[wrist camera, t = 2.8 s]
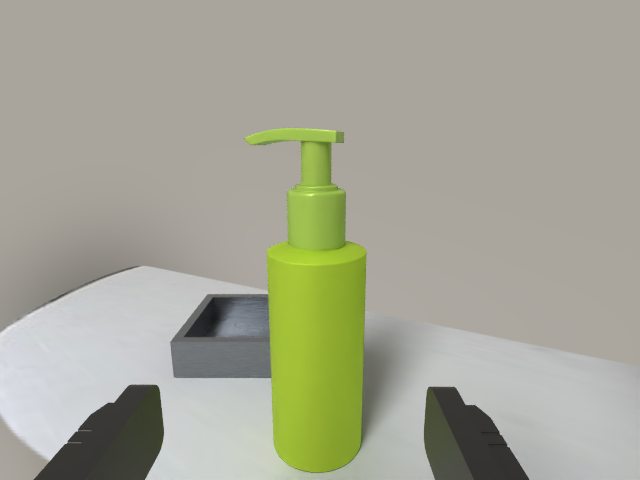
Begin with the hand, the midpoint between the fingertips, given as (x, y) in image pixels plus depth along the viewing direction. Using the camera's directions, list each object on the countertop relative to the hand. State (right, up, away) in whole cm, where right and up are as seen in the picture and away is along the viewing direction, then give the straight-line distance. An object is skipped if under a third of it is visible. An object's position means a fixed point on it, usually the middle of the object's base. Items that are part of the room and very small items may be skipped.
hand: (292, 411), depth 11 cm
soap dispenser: (0, -8, +15) cm, 17 cm away
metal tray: (-6, -5, +26) cm, 27 cm away
